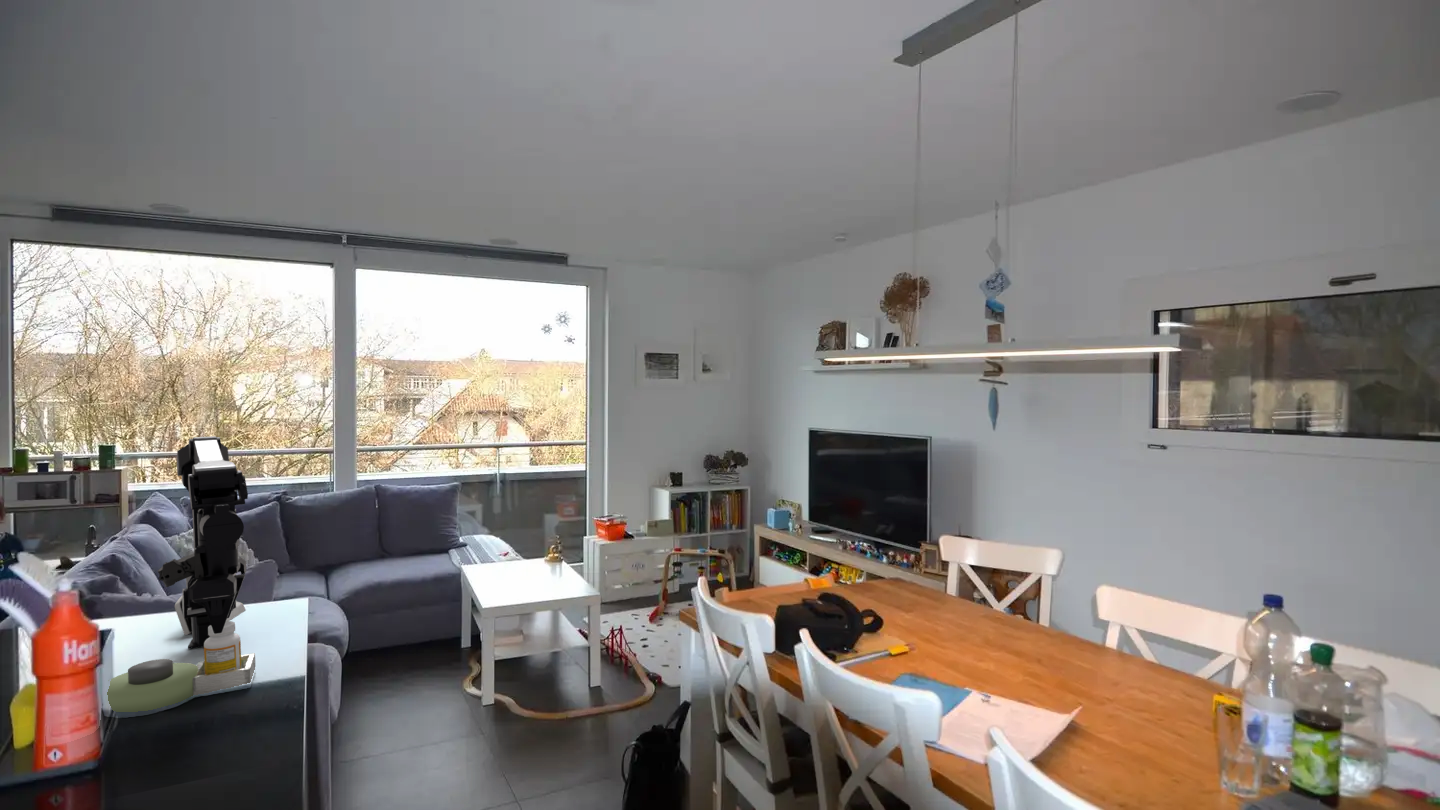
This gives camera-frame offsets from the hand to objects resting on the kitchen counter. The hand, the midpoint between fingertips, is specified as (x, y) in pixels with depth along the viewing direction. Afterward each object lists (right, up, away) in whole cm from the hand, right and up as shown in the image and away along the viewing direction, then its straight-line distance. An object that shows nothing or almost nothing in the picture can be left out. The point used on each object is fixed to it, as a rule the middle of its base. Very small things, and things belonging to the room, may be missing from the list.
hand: (221, 625), depth 132 cm
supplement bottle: (0, -10, +1) cm, 10 cm away
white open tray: (0, -11, +1) cm, 11 cm away
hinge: (-27, -10, +36) cm, 46 cm away
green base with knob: (-8, -11, -6) cm, 15 cm away
